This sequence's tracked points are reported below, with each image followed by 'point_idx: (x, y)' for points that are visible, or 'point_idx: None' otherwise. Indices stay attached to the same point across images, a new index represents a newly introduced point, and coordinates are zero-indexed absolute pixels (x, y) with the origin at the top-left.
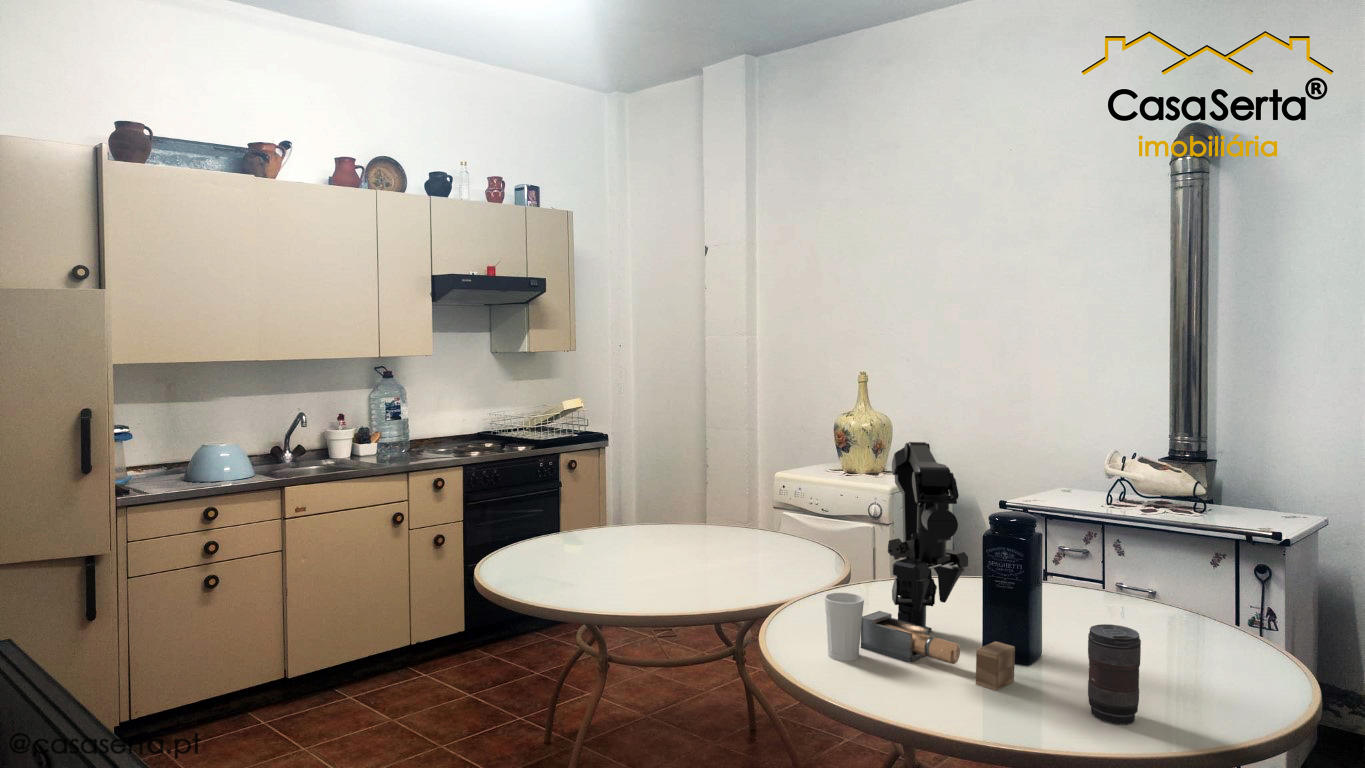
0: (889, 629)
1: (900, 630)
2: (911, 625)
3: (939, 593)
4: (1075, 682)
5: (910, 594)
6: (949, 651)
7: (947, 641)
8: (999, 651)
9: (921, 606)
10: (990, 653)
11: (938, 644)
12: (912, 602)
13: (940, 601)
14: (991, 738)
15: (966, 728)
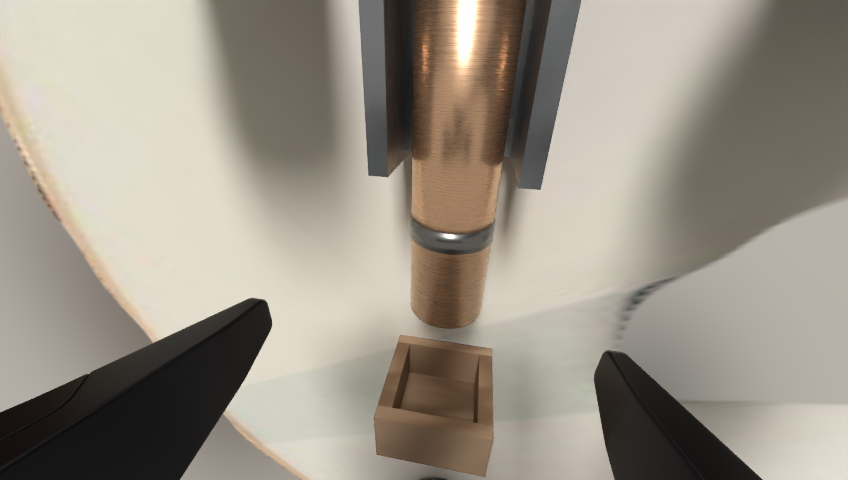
0: (362, 26)
1: (384, 99)
2: (535, 82)
3: (633, 406)
4: (571, 458)
5: (98, 379)
6: (411, 307)
7: (446, 301)
8: (409, 456)
9: (250, 361)
10: (376, 443)
11: (418, 273)
12: (191, 329)
13: (605, 351)
14: None
15: None
